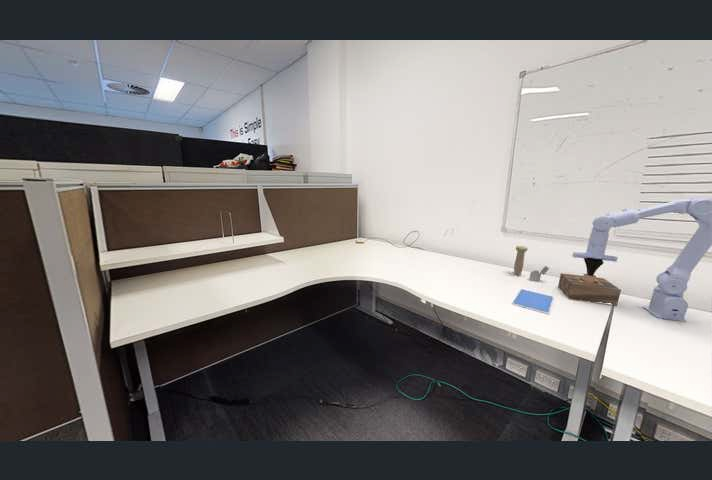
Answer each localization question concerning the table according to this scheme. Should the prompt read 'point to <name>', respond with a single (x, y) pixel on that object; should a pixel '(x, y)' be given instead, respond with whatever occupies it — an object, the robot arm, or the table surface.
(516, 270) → the handle
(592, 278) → the peg
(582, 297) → the socket block
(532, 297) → the tablet computer
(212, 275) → the table surface
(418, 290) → the table surface
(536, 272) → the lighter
